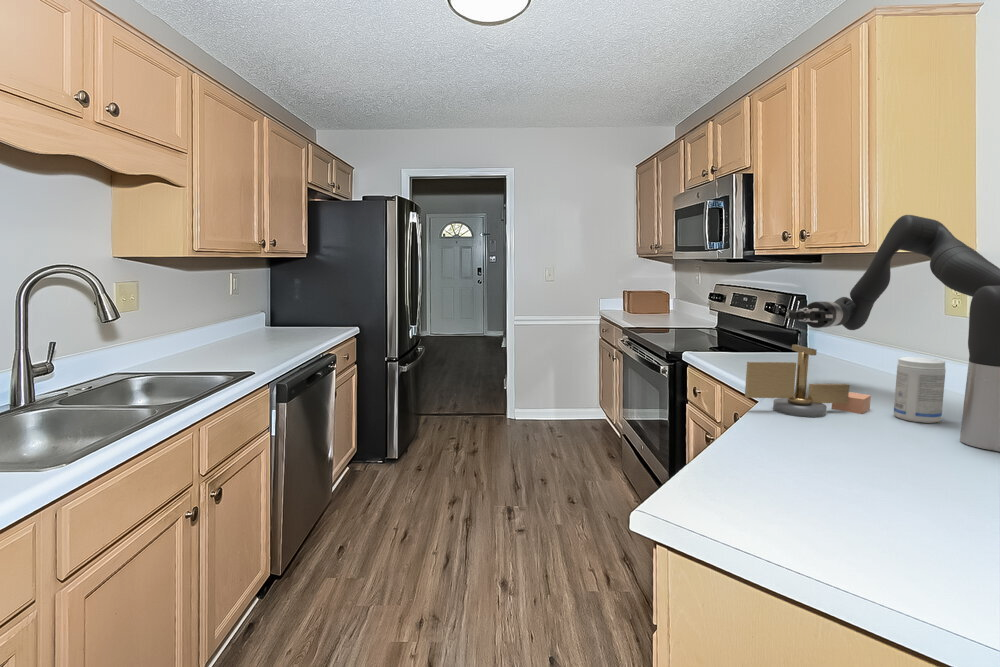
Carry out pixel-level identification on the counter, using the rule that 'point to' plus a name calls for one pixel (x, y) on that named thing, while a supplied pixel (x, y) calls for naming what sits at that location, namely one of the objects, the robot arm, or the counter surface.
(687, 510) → the counter surface
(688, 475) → the counter surface
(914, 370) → the supplement tub
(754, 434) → the counter surface
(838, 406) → the orange block
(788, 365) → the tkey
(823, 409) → the base
